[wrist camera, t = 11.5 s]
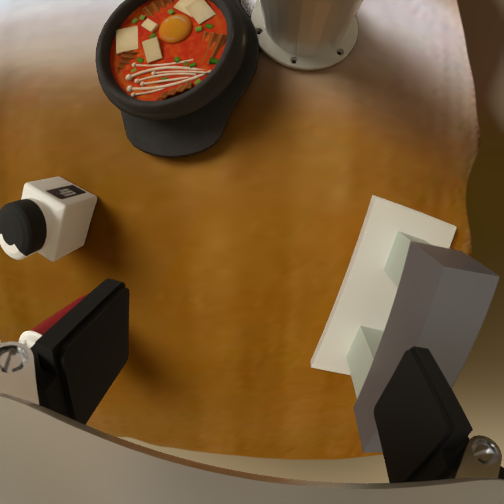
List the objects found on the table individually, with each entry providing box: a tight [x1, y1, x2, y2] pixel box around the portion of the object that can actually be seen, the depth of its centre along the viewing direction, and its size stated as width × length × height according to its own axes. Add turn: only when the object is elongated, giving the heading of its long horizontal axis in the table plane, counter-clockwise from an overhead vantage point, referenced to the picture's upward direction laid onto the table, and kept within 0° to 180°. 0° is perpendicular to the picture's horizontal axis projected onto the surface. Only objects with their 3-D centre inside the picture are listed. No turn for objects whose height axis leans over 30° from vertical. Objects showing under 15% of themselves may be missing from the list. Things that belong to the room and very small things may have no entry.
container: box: [0, 177, 97, 262], centre depth 34 cm, size 8×8×13 cm
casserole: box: [96, 0, 259, 158], centre depth 29 cm, size 25×19×8 cm
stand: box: [311, 195, 457, 399], centre depth 35 cm, size 24×12×10 cm, turn 165°
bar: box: [354, 241, 499, 452], centre depth 26 cm, size 20×6×7 cm, turn 172°
